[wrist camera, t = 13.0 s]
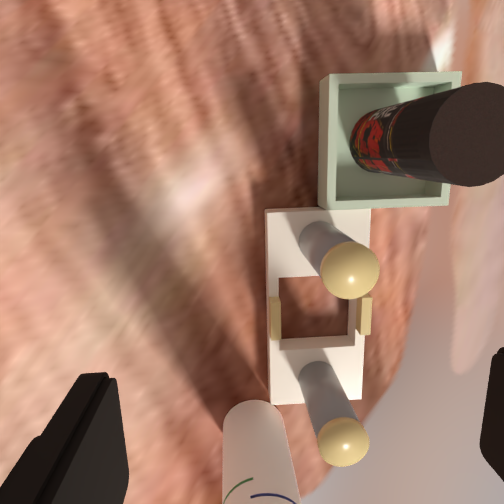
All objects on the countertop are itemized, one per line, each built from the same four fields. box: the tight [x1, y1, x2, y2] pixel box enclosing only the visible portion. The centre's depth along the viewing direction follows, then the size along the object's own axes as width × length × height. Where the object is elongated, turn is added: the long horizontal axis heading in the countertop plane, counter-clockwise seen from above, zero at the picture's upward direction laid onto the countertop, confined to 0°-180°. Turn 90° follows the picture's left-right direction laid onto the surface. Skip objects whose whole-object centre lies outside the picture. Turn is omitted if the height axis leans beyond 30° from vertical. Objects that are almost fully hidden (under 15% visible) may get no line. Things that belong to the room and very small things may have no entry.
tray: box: [318, 71, 462, 210], centre depth 36 cm, size 12×12×4 cm
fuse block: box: [265, 207, 380, 467], centre depth 36 cm, size 21×10×12 cm, turn 1°
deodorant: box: [349, 82, 504, 187], centre depth 30 cm, size 6×6×15 cm
